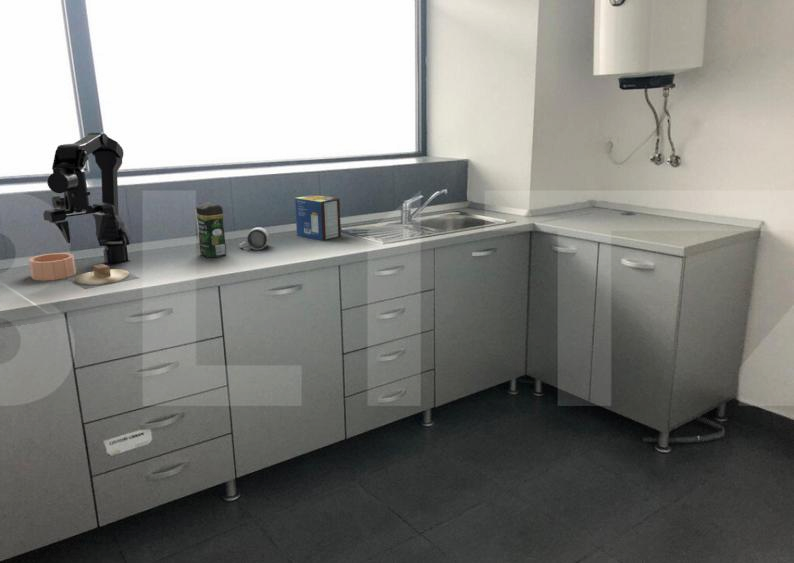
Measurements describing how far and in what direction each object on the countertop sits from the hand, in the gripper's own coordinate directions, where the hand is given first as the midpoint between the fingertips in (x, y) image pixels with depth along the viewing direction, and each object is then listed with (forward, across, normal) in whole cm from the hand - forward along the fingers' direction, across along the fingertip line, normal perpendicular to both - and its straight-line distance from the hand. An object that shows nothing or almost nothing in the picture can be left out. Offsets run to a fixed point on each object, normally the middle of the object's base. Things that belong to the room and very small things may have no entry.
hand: (84, 240), depth 190 cm
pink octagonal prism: (+12, +5, -13) cm, 18 cm away
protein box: (+13, -88, +11) cm, 90 cm away
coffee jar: (+13, -43, +4) cm, 45 cm away
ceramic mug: (+13, -59, +6) cm, 61 cm away
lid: (+12, -2, +3) cm, 13 cm away
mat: (+12, -2, +3) cm, 13 cm away
